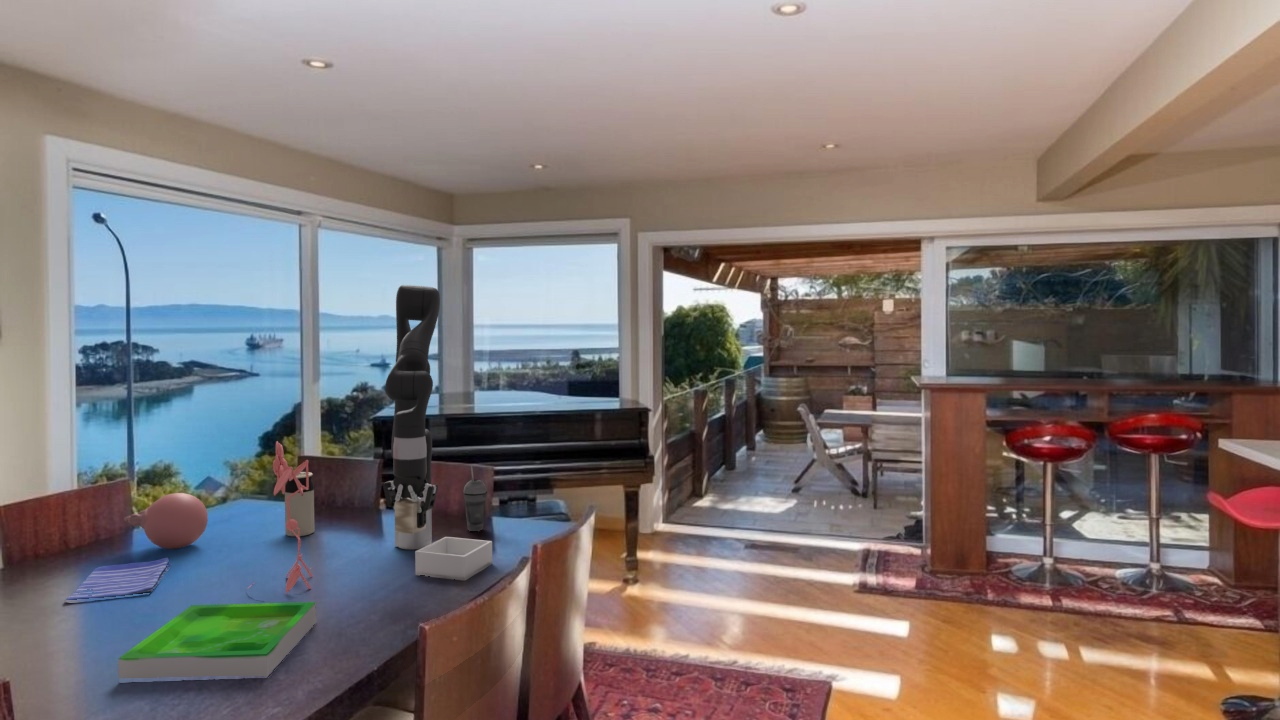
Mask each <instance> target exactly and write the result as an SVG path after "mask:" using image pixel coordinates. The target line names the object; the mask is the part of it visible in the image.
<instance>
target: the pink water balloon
mask: <svg viewBox="0 0 1280 720" xmlns="http://www.w3.org/2000/svg"><path fill="white" fill-rule="evenodd" d="M123 521H124V522H128V523H129V524H130V525H132V526H133V527H140V528H142V529H143V530H144V533H145V536H146V537H147V539H148V540H149V541H150V542H151V543H152V544H154V545H155V546H157V547H160V548H163V549H169V550H174V549H176V550H177V549H182V548H185V547H188V546H190V545H192V544H194V543H195V542H196V541H197V540H198V539H199V538H201V536H202V535H203V534H204V532H205V530H206V528H207V525H208V522H209V516H208V510H207V508H206V506H205V504H204V503H203V502H202V500H201V499H199V498H198V497H196V496H194V495H192V494H189V493H183V492H175V493H169V494H165V495H163V496H160V497H159V498H158V499H157V500H155V501H154V502H152V504H151V505H150V506H148V507H146V508H145V509H142V510H141V511H139V512H137V513H132V514H131V515H128V516H125V517H123Z"/></svg>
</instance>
